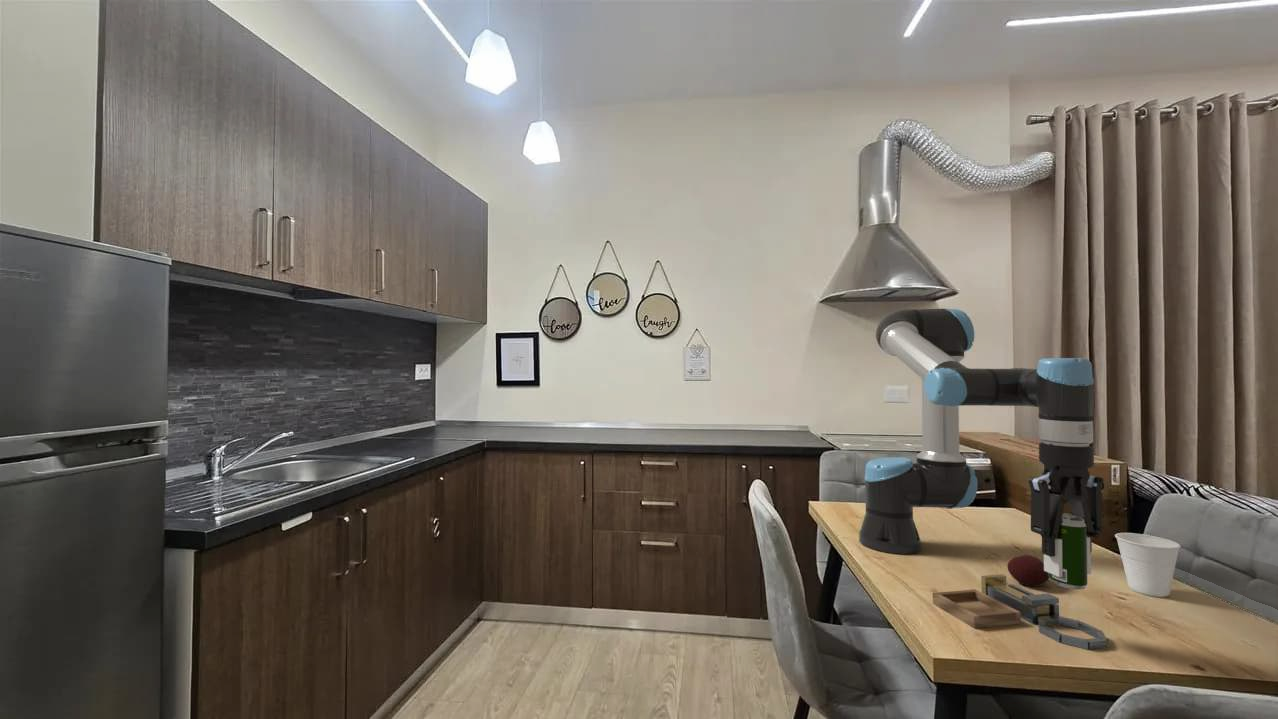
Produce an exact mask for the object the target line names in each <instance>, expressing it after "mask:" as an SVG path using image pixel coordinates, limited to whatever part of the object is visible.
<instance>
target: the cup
mask: <svg viewBox="0 0 1278 719" xmlns="http://www.w3.org/2000/svg"><path fill="white" fill-rule="evenodd" d="M1114 537H1115V538H1116V541H1117V546H1118V548H1119V553H1120V556H1121V561H1122V565H1123V569H1124V572H1125V577H1126V581H1127V585H1128V586H1127V587H1129V588H1130V589H1131V590H1132V591H1133V592H1137V593H1138V594H1141V595H1144V596H1149V597H1154V598H1166V597H1168V596H1170V594H1171V588H1172V582H1173V578H1174V575H1175V569H1176V565H1177V560H1178V559H1177V558H1178V556H1179V550H1180V549H1181V547H1182V546H1181V544H1179V543H1178V542H1175V541H1174V540H1170V539H1167V538H1163V537H1159V536H1154V535H1148V534H1142V533H1134V532H1118V533H1115V534H1114Z"/></svg>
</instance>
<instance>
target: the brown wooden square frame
mask: <svg viewBox="0 0 1278 719" xmlns="http://www.w3.org/2000/svg"><path fill="white" fill-rule="evenodd" d="M932 604H933V605H935V606H936V607H938V608H940V609H942V610H943V611H945V612H947V613H948V614H950V615H952V616H954V617H955V618H957V619H958V620H960V621H961V622H963V623H965V624H967V625H969V626H970V627H971V628H973V629H981V628H990V627H991V628H992V627H1000V626H1011V625H1021V624H1022V618H1021V612H1019V611H1017V610H1015V609H1013V608H1011V607H1009V606H1007V605H1005V604H1003V603H1001V602H999V601H997V600H995V599H993V598H991V597H989V596H987V595H985V594H983V593H982V591H979V590H977V589H975V588H974V589H965V590H963V589H962V590H951V591H940V592H932Z"/></svg>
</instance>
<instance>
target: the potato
mask: <svg viewBox="0 0 1278 719" xmlns="http://www.w3.org/2000/svg"><path fill="white" fill-rule="evenodd" d="M1006 568H1007V571H1008V572H1009V574H1010V575H1011V577H1012V578H1013V579H1014V580H1016V581H1017V582H1019V583H1020V584H1023V585H1026V586H1030V587H1035V586H1036V587H1037V586H1038V587H1039V586H1041V585H1045V584H1046V583H1047V582H1048V581H1050V579H1049V577H1048V572H1046V571H1044V561H1042V560H1041V559H1039V557H1035V556H1034V555H1031V554H1022V555H1018V556H1014V557H1013V558H1012V559H1010V560H1009V561H1008V563H1007V565H1006Z"/></svg>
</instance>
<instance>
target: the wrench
mask: <svg viewBox="0 0 1278 719" xmlns="http://www.w3.org/2000/svg"><path fill="white" fill-rule="evenodd" d="M1007 586H1009V587H1011V588H1013V589H1015V590H1017V591H1020V592H1022V593H1024V594H1026V596H1022V600H1020V599H1018V598H1016V597H1014V596H1012V595H1010V594H1008V593H1006V592H1004V591H1001V590H999V589H997V588H995V587H993V586H988V596H989V597H991V598H993V599H995V600H997V601H999V602H1001V603H1003V604H1005V605H1007V606H1009V607H1011V608H1013V609H1015V610H1017V611H1019V612H1021V620H1024V621H1025V622H1028V623H1030V624H1032V625H1035V624H1037V628H1038V631H1039V633H1040V634H1043V635H1045V636H1047V637H1048V638H1050V639H1052V640H1053V641H1056V642H1058V643H1061V644H1063V645H1067V646H1072V647H1076V648H1080V649H1085V650H1090V651H1092V650H1100V649H1107V648H1108V640H1107V637H1106V635H1105V633H1104V631H1102V630H1101V629H1099V628H1097V627H1094V626H1093V625H1090V624H1089V623H1085V621H1080V620H1078V619H1073V618H1068V617H1064V616H1060V606H1059V603H1060V601H1059V600H1060V598H1059V597H1058V596H1055V595H1053V594H1051V593H1041V594H1035V593H1033V592H1031V591H1028V590H1027V589H1025V588H1024V589H1023V588H1022V587H1019V586H1017V585H1015V584H1013V583H1011V584H1008V585H1007ZM1037 605H1049V615H1050V616H1042V617H1038V620H1037V607H1035V606H1037ZM1058 625H1059V626H1063V627H1065V628H1066V627H1067V628H1072V629H1076V630H1079V631H1081V632H1084V633H1086V634H1087V635H1089V636H1092V637H1093V638H1081V637H1076V636H1072V635H1068V634H1064V633H1061V632H1059V631H1057V630H1055V629H1053V628H1052V627H1050V626H1058Z"/></svg>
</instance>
